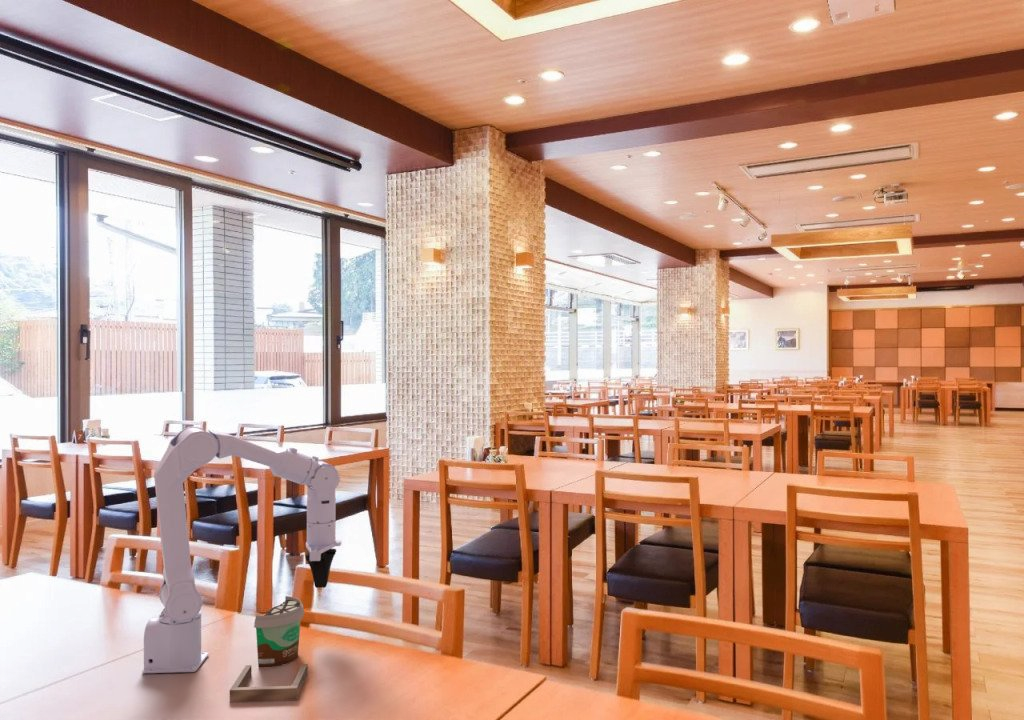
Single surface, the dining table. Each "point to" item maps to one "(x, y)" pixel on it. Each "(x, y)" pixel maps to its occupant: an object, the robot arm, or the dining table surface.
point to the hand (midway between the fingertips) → (321, 586)
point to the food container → (279, 633)
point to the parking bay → (266, 688)
